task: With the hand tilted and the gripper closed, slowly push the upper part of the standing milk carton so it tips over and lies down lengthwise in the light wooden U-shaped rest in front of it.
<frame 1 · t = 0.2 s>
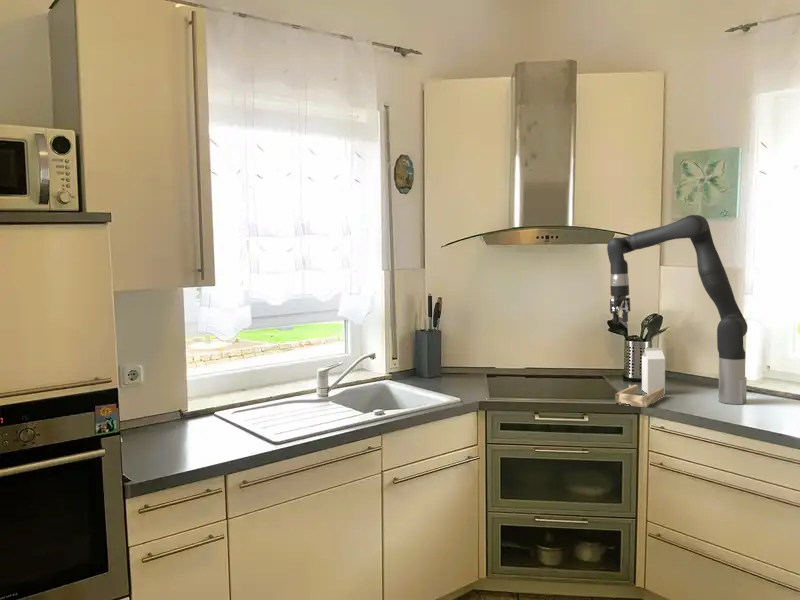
hand: (620, 322, 290), 29 cm above the worktop, tool pointing down, fingers open, 8 cm apart
U-rest: (639, 400, 271), on the worktop
milk carton: (653, 393, 283), on the worktop
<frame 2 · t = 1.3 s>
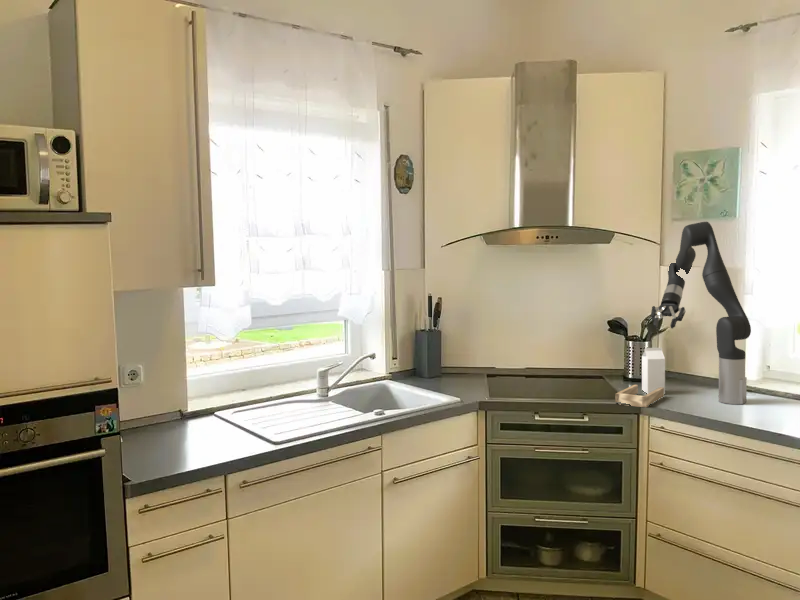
hand: (663, 326, 291), 26 cm above the worktop, tool tilted 45°, fingers open, 6 cm apart
nothing on the worktop moved.
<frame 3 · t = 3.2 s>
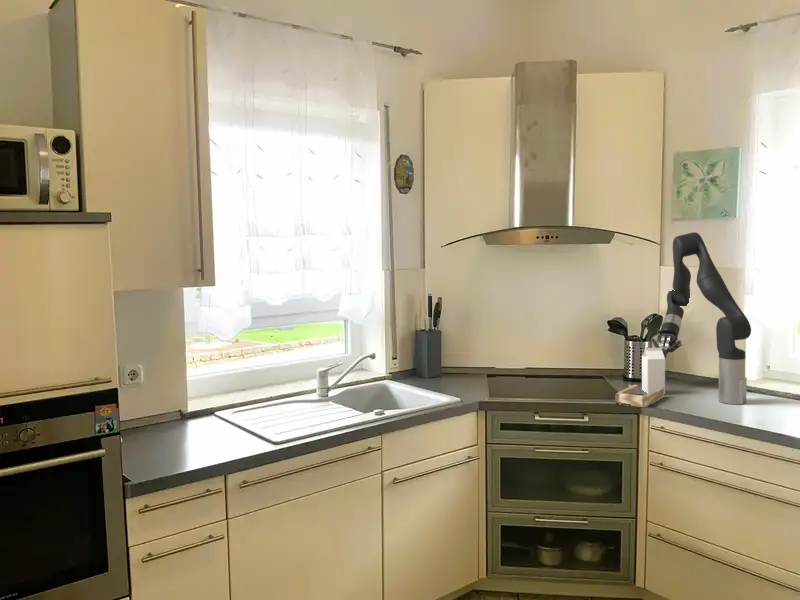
hand: (661, 358, 290), 13 cm above the worktop, tool tilted 45°, fingers closed
nothing on the worktop moved.
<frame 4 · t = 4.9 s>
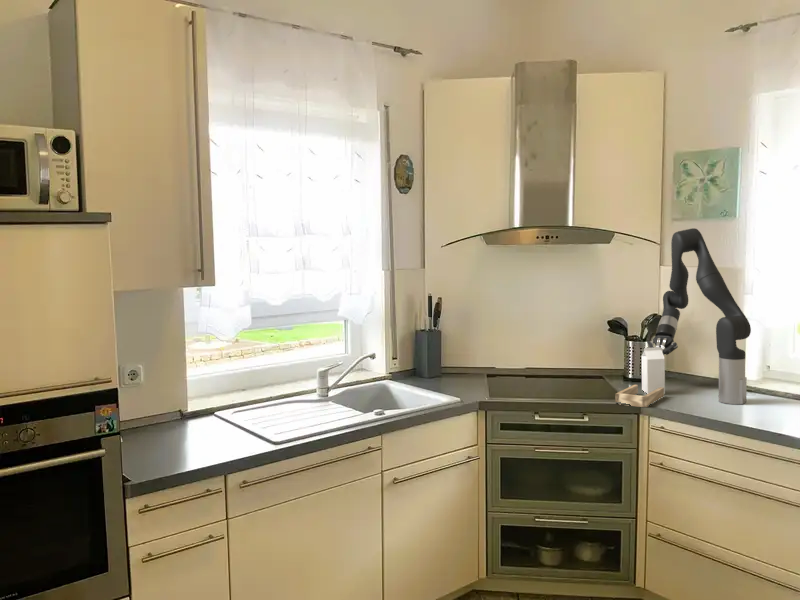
hand: (657, 360, 286), 13 cm above the worktop, tool tilted 45°, fingers closed
nothing on the worktop moved.
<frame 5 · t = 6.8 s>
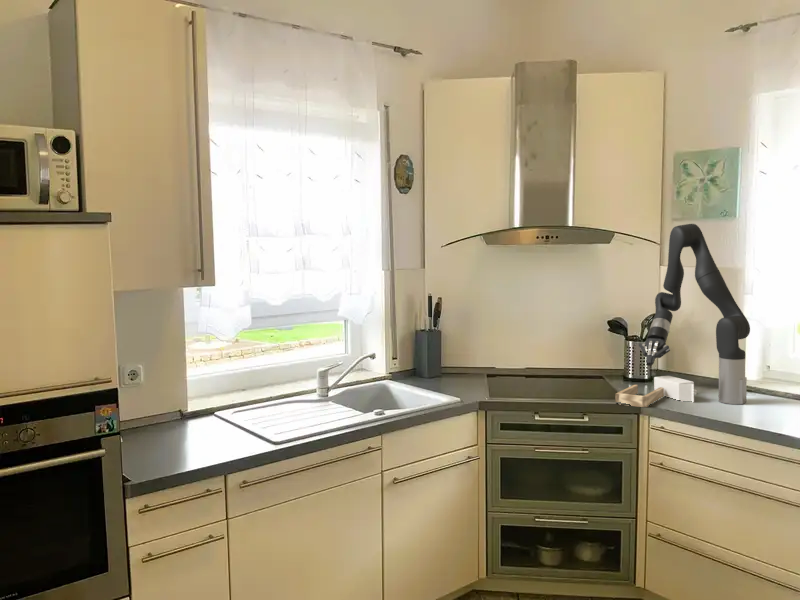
hand: (649, 364, 278), 13 cm above the worktop, tool tilted 45°, fingers closed
milk carton: (660, 384, 283), point 4 cm above the worktop
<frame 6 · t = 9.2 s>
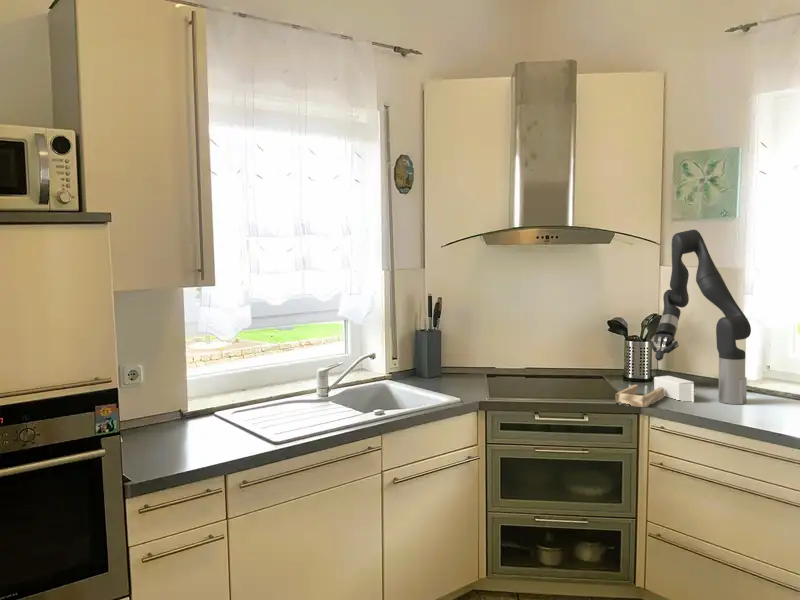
hand: (658, 359, 288), 13 cm above the worktop, tool tilted 45°, fingers closed
nothing on the worktop moved.
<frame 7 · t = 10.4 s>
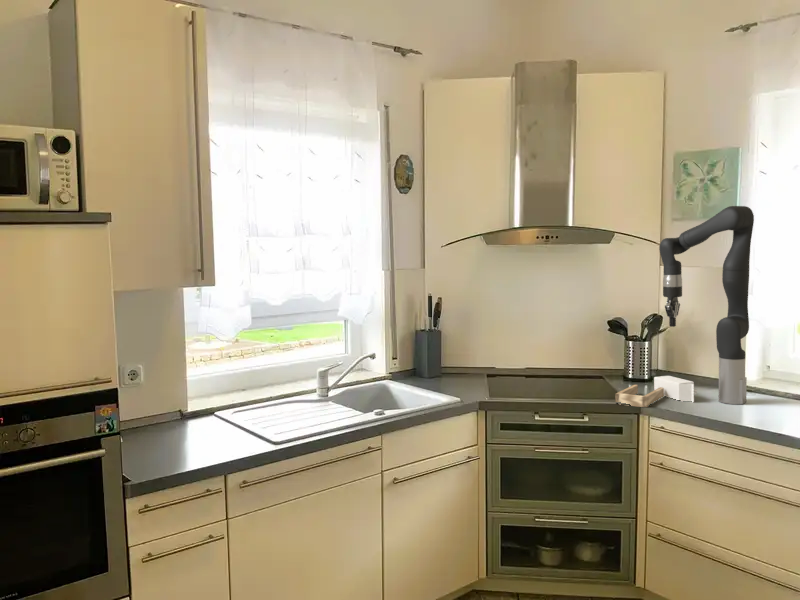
hand: (672, 326, 288), 27 cm above the worktop, tool pointing down, fingers closed
nothing on the worktop moved.
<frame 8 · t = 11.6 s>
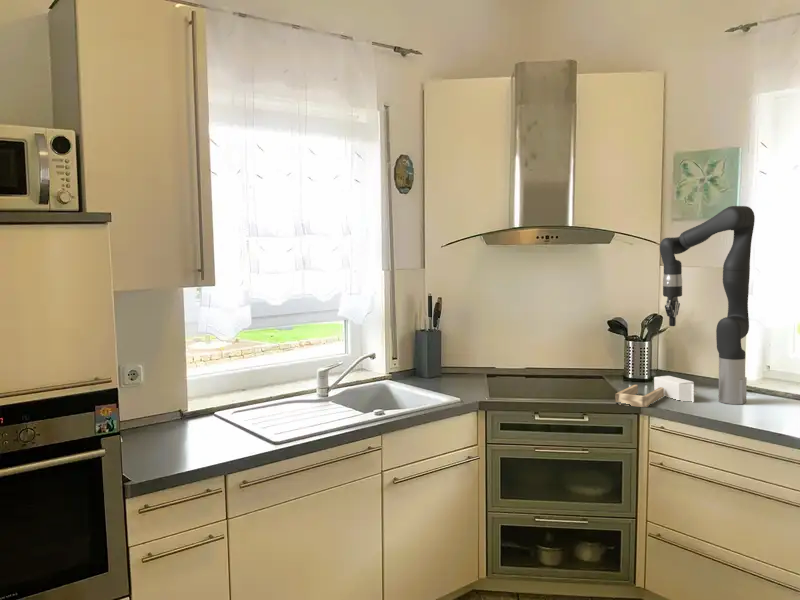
hand: (672, 326, 288), 27 cm above the worktop, tool pointing down, fingers closed
nothing on the worktop moved.
at the end: milk carton tilted 90°; milk carton inside the target area (3.2 cm from its centre), point 3.6 cm above the worktop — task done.
